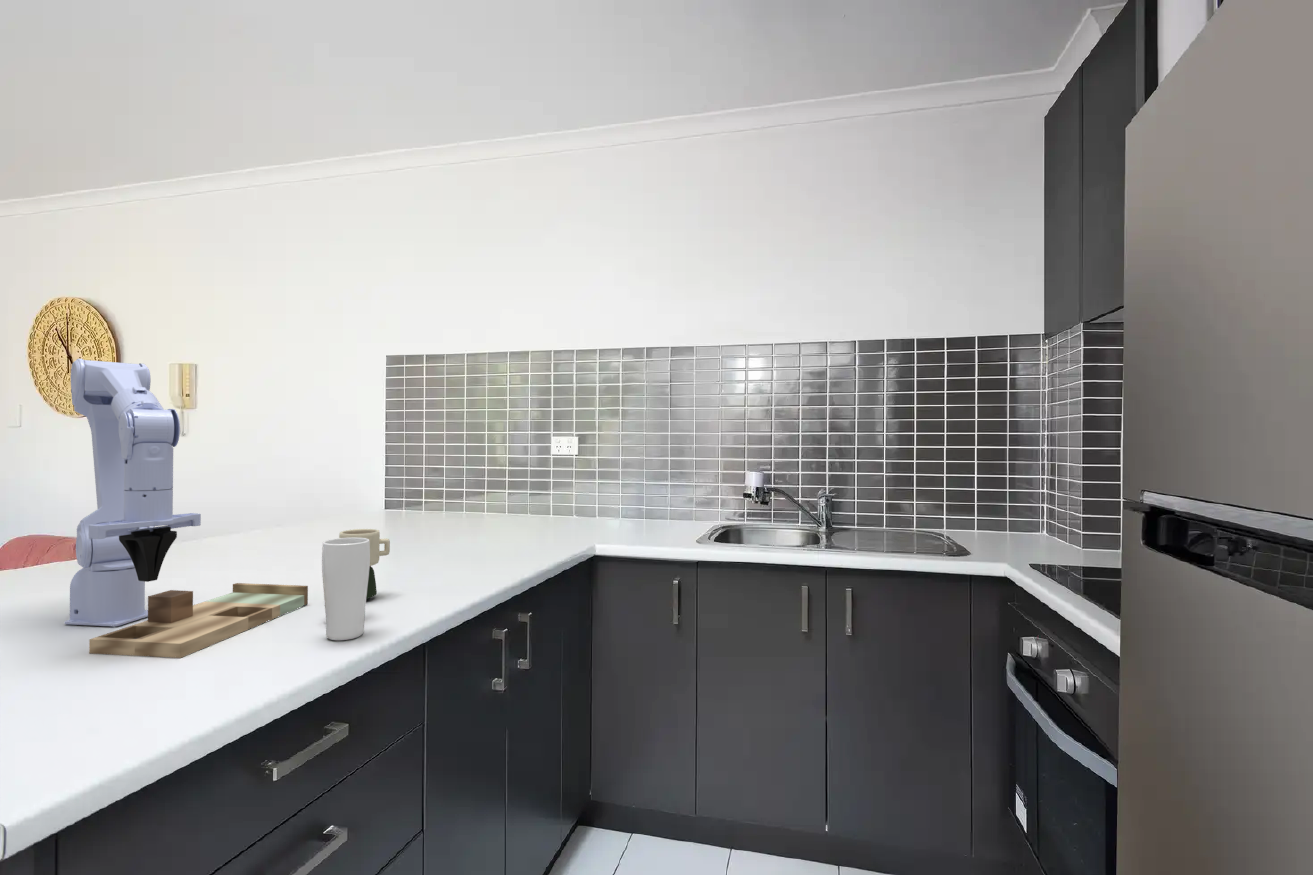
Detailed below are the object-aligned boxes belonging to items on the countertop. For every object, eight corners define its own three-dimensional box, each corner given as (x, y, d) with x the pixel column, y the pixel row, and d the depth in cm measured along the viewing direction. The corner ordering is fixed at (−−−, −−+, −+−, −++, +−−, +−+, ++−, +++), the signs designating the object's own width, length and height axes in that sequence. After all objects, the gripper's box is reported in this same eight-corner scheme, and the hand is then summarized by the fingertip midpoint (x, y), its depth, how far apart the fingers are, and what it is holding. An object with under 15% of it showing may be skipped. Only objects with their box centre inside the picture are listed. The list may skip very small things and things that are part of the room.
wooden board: (89, 653, 90) (89, 628, 90) (236, 601, 118) (236, 583, 118) (180, 657, 89) (180, 633, 89) (307, 604, 117) (307, 585, 117)
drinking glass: (378, 632, 101) (379, 538, 101) (345, 645, 95) (346, 545, 95) (345, 627, 104) (346, 536, 104) (310, 640, 97) (311, 542, 97)
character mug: (384, 591, 127) (385, 526, 127) (393, 599, 121) (394, 531, 121) (324, 599, 121) (324, 531, 121) (330, 607, 115) (331, 536, 115)
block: (147, 622, 99) (148, 596, 99) (170, 614, 103) (170, 590, 103) (171, 623, 98) (171, 597, 98) (192, 615, 102) (193, 591, 102)
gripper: (114, 494, 87) (113, 594, 87) (215, 486, 100) (214, 572, 101) (78, 492, 89) (77, 589, 89) (182, 485, 103) (181, 569, 103)
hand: (147, 580), depth 95 cm, fingers closed
